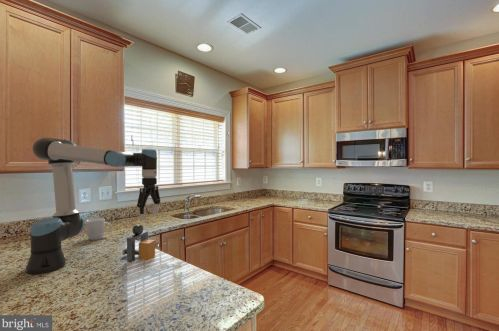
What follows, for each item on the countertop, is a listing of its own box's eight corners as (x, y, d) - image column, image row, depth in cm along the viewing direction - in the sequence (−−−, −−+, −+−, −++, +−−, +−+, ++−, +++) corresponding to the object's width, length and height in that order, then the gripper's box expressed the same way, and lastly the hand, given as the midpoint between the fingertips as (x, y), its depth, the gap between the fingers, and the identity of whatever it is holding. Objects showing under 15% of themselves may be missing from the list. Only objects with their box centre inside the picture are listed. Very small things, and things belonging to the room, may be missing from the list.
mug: (109, 234, 178) (109, 216, 178) (112, 238, 170) (112, 219, 169) (85, 238, 169) (85, 219, 169) (86, 242, 160) (87, 222, 160)
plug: (120, 257, 134) (120, 241, 134) (127, 254, 140) (128, 238, 140) (148, 260, 131) (148, 243, 131) (155, 256, 137) (155, 240, 137)
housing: (131, 262, 128) (131, 228, 128) (126, 261, 129) (126, 228, 129) (147, 252, 142) (147, 222, 142) (143, 252, 143) (143, 222, 143)
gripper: (142, 178, 122) (142, 222, 122) (166, 176, 145) (166, 213, 145) (129, 178, 123) (128, 222, 123) (155, 176, 146) (155, 213, 146)
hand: (149, 217), depth 134 cm, fingers open, 11 cm apart
